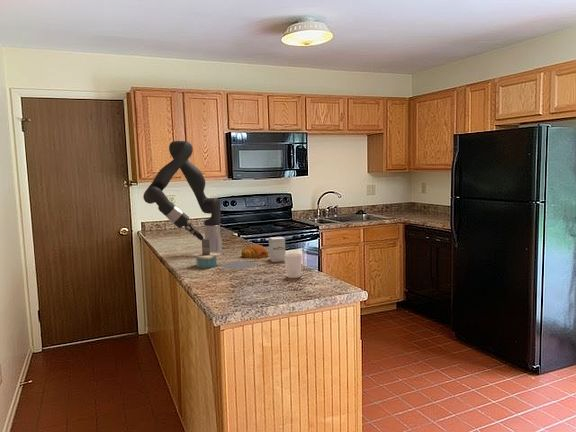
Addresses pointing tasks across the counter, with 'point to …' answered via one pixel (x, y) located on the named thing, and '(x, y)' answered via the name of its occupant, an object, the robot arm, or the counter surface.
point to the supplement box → (276, 249)
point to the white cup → (293, 265)
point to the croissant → (254, 252)
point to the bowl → (206, 262)
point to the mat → (239, 265)
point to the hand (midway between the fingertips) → (201, 238)
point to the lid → (205, 251)
